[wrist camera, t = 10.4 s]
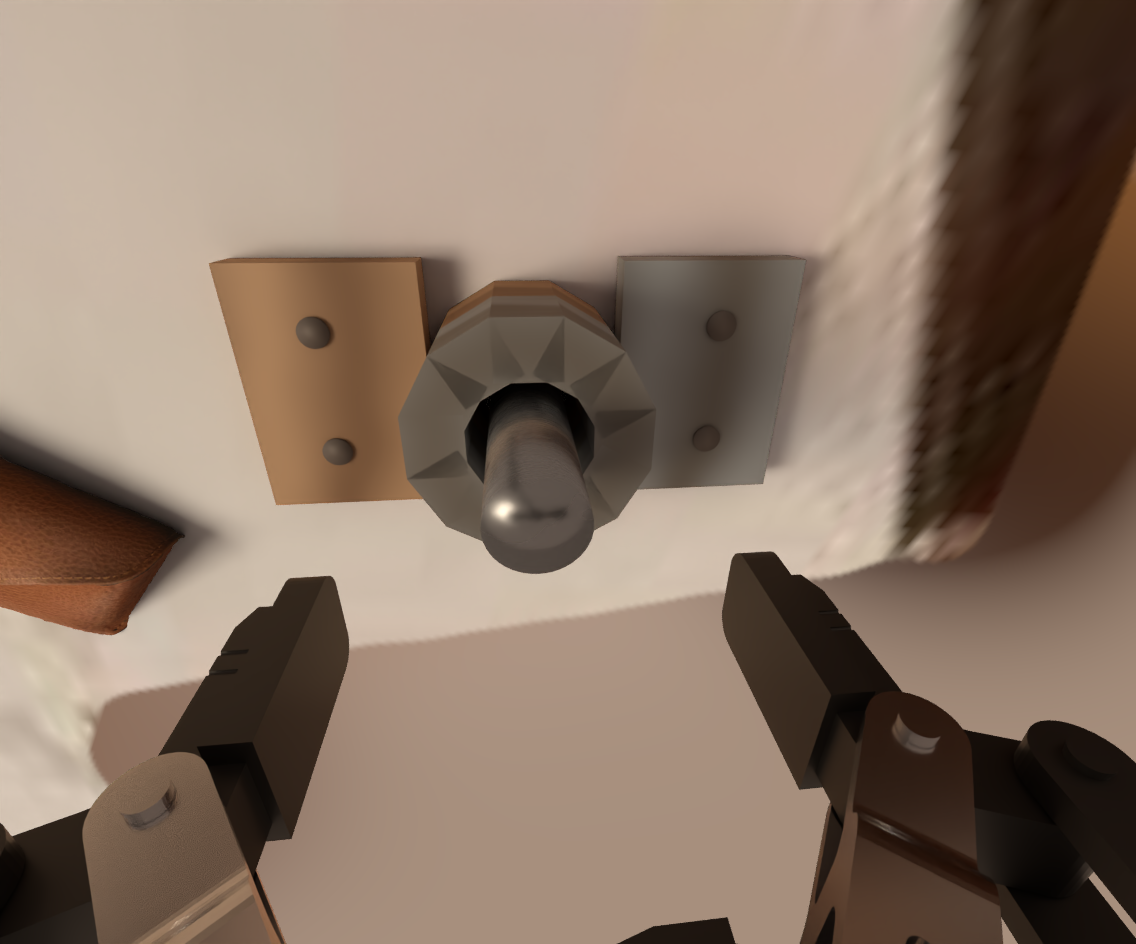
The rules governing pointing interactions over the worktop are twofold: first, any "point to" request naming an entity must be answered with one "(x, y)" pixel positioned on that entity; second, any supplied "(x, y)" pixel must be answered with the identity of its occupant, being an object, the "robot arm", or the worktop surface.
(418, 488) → the hinge leaves
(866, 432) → the worktop surface
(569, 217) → the worktop surface
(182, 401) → the worktop surface
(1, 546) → the sunglasses case
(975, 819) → the robot arm
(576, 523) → the hinge pin
